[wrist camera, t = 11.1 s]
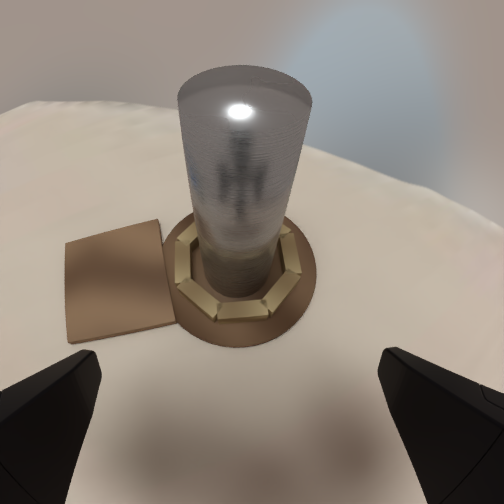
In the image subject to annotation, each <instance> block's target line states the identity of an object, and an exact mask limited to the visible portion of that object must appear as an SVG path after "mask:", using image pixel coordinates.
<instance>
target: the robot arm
mask: <svg viewBox="0 0 504 504" xmlns="http://www.w3.org/2000/svg"><path fill="white" fill-rule="evenodd" d="M378 377H379V380H380V383H381V386H382V389H383V392H384V395H385V398H386V402H387V405H388V408H389V411H390V413H391V416H392V418H393V420H394V423H395V425H396V427H397V429H398V432H399V434H400V436H401V439H402V441H403V443H404V446H405V448H406V450H407V453H408V455H409V458H410V460H411V462H412V465H413V467H414V470H415V472H416V475H417V477H418V480H419V482H420V485H421V488H422V490H423V493H424V495H425V498H426V501H427V504H504V393H501V392H498V391H496V390H493V389H491V388H488V387H486V386H484V385H481V384H480V385H479V383H477V382H474V381H472V380H470V379H467V378H465V377H463V376H460V375H458V374H456V373H453V372H451V371H449V370H447V369H444V368H442V367H440V366H438V365H435V364H433V363H431V362H429V361H426V360H424V359H422V358H420V357H418V356H415V355H413V354H411V353H409V352H407V351H404V350H402V349H400V348H398V347H390V348H385V349H384V350H383V352H382V356H381V359H380V363H379V366H378ZM101 378H102V373H101V369H100V366H99V362H98V359H97V355H96V353H95V352H94V351H92V350H81V351H79V352H77V353H75V354H73V355H71V356H69V357H67V358H65V359H63V360H61V361H59V362H57V363H55V364H53V365H51V366H49V367H47V368H45V369H43V370H41V371H39V372H38V373H36V374H34V375H32V376H30V377H28V378H26V379H24V380H22V381H20V382H18V383H16V384H14V385H12V386H10V387H8V388H6V389H4V390H2V391H0V504H65V501H66V497H67V494H68V490H69V486H70V483H71V479H72V476H73V473H74V469H75V466H76V463H77V459H78V456H79V453H80V450H81V447H82V444H83V441H84V438H85V435H86V432H87V429H88V426H89V424H90V421H91V418H92V414H93V410H94V406H95V402H96V398H97V394H98V390H99V386H100V382H101Z"/></svg>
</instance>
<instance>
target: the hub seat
mask: <svg viewBox="0 0 504 504" xmlns="http://www.w3.org/2000/svg"><path fill="white" fill-rule="evenodd" d="M162 250H163V256H164V262H165V268H166V274H167V279H168V285H169V290H170V295H171V300H172V305H173V310H174V315H175V320H176V321H177V322H178V323H179V324H180V325H181V327H183V328H184V329H185V330H186V331H188V332H189V333H190V334H192V335H194V336H196V337H197V338H199V339H201V340H204V341H206V342H209V343H211V344H215V345H219V346H225V347H249V346H255V345H259V344H262V343H265V342H268V341H270V340H272V339H274V338H277V337H278V336H280V335H281V334H283V333H285V332H286V331H287V330H288V329H290V328H291V327H292V326H293V325H294V324H295V323H296V322H297V321H298V320H299V318H300V317H301V316H302V315H303V313H304V312H305V310H306V309H307V307H308V305H309V303H310V301H311V299H312V296H313V293H314V289H315V284H316V263H315V258H314V255H313V251H312V249H311V247H310V244H309V242H308V240H307V239H306V237H305V236H304V234H303V233H302V232H301V230H300V229H299V228H298V227H297V226H296V225H295V224H294V223H293V222H292V221H291V220H290V219H288V218H287V217H286V216H284V220H283V223H282V227H281V231H280V235H279V238H278V242H277V246H276V250H275V253H274V257H273V261H272V265H271V268H270V272H269V276H268V278H267V281H266V283H265V284H264V286H263V287H262V288H261V289H260V290H259V291H257V292H256V293H254V294H252V295H250V296H247V297H243V298H231V297H227V296H224V295H222V294H220V293H218V292H217V291H215V290H214V289H213V288H212V287H211V286H210V285H209V283H208V281H207V279H206V277H205V273H204V268H203V263H202V257H201V252H200V247H199V241H198V236H197V230H196V224H195V218H194V213H191V214H190V215H188V216H187V217H185V218H184V219H183V220H182V221H180V222H179V223H178V224H177V225H176V226H175V227H174V228H173V230H172V231H171V232H170V234H169V235H168V236H167V238H166V240H165V242H164V244H163V246H162Z"/></svg>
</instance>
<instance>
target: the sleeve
mask: <svg viewBox="0 0 504 504" xmlns="http://www.w3.org/2000/svg"><path fill="white" fill-rule="evenodd" d="M177 100H178V107H179V117H180V125H181V132H182V140H183V147H184V154H185V161H186V168H187V175H188V181H189V188H190V194H191V200H192V207H193V213H194V218H195V224H196V230H197V236H198V241H199V247H200V252H201V257H202V263H203V268H204V273H205V277H206V279H207V281H208V283H209V285H210V286H211V287H212V288H213V289H214V290H215V291H217V292H218V293H220V294H222V295H224V296H227V297H231V298H243V297H247V296H250V295H252V294H254V293H256V292H257V291H259V290H260V289H261V288H262V287H263V286H264V284H265V283H266V281H267V278H268V276H269V272H270V268H271V265H272V261H273V257H274V253H275V250H276V246H277V242H278V238H279V235H280V231H281V227H282V223H283V220H284V216H285V212H286V208H287V204H288V200H289V196H290V193H291V189H292V185H293V181H294V177H295V173H296V169H297V165H298V161H299V157H300V153H301V149H302V145H303V141H304V137H305V132H306V128H307V124H308V120H309V116H310V112H311V107H312V98H311V95H310V93H309V91H308V90H307V89H306V87H305V86H304V85H303V84H301V83H300V82H299V81H297V80H296V79H294V78H293V77H291V76H289V75H287V74H284V73H282V72H279V71H276V70H273V69H269V68H264V67H258V66H249V65H234V66H224V67H218V68H214V69H210V70H207V71H204V72H201V73H199V74H197V75H195V76H193V77H192V78H190V79H189V80H188V81H186V82H185V83H184V84H183V86H182V87H181V88H180V90H179V92H178V99H177Z"/></svg>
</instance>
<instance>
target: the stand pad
mask: <svg viewBox="0 0 504 504" xmlns="http://www.w3.org/2000/svg"><path fill="white" fill-rule="evenodd" d="M162 246H163V245H162V239H161V232H160V225H159V221H158V219H155V220H151V221H147V222H143V223H139V224H135V225H131V226H127V227H123V228H119V229H115V230H112V231H108V232H104V233H100V234H97V235H93V236H90V237H86V238H82V239H79V240H75V241H72V242H68V243H65V313H66V328H67V340H68V343H70V344H76V343H82V342H88V341H93V340H98V339H104V338H109V337H114V336H119V335H124V334H129V333H134V332H139V331H144V330H148V329H153V328H158V327H162V326H167V325H171V324H176V323H177V321H176V320H175V315H174V310H173V305H172V300H171V295H170V290H169V285H168V279H167V274H166V268H165V262H164V256H163V250H162Z"/></svg>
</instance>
